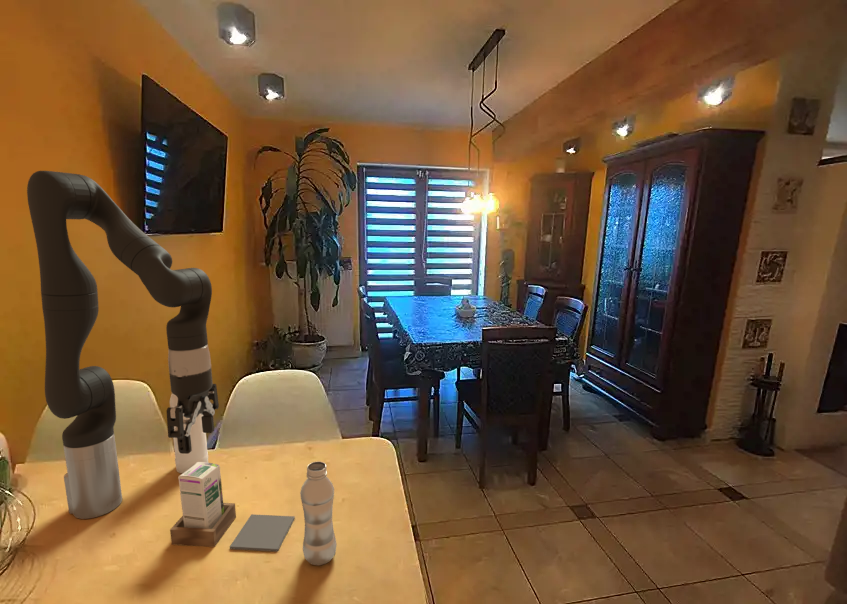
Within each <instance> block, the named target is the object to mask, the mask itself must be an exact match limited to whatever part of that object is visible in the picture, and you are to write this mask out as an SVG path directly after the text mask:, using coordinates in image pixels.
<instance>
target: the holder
mask: <svg viewBox="0 0 847 604" xmlns="http://www.w3.org/2000/svg"><path fill="white" fill-rule="evenodd" d="M223 505H224V514H223V515H222V516H221V518H220V519H219V520H218V521H217V523H216V524H215V525H214V527H213V528H212V529H204V528H184V521H183V515H182V516H180V518H179V519H178V520H177V521H176V522H175V523H174V524H173V526H172V527H171V528H170V529H169V531H170V543H171V545H173V546H191V547H194V546H195V547H210V548H215V547H216V546H217V545H218V543H219V542H220V541H221V539H222V537H223V536H224V535H225V533H226V532H227V531H228V529H229V528H230V526H231V525H232V524H233V522H234V521H235V519H236V518H237V512H236V511H237V510H236V503H235V502H223Z"/></svg>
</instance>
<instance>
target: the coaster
mask: <svg viewBox="0 0 847 604" xmlns="http://www.w3.org/2000/svg"><path fill="white" fill-rule="evenodd" d="M295 520H296V517H295V515H293V516H292V515H275V514H273V515H270V514H255V513H254V514H253V513H252V514H250V516H249V517H248V519H247V520H246V522H245V523H244V524H243V526H242V528H241V529H240V530H239V532H238V534H237V535H236V537H235V538H234V540H232V542H231V544H230V546H229V550H239V551H240V550H241V551H259V552H260V551H261V552H277V553H278V552H279V550H280V548H281V546H282V544H283V542H284V541H285V538H286V536H287V534H288V533H289V531H290V529H291V527H292V525H293V523H294V521H295Z"/></svg>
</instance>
